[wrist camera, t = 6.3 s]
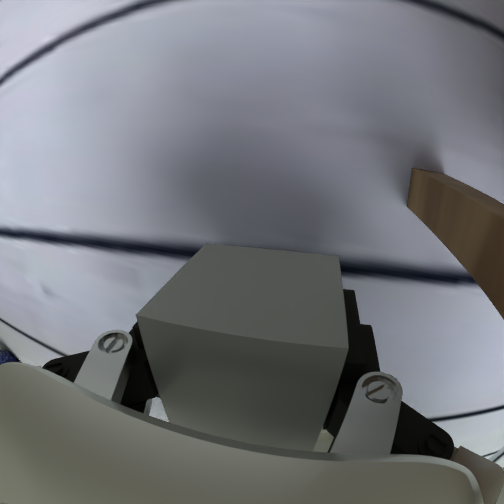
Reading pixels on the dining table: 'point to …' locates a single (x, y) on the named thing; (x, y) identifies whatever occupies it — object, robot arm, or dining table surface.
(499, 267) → the frame
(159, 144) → the dining table surface
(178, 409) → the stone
